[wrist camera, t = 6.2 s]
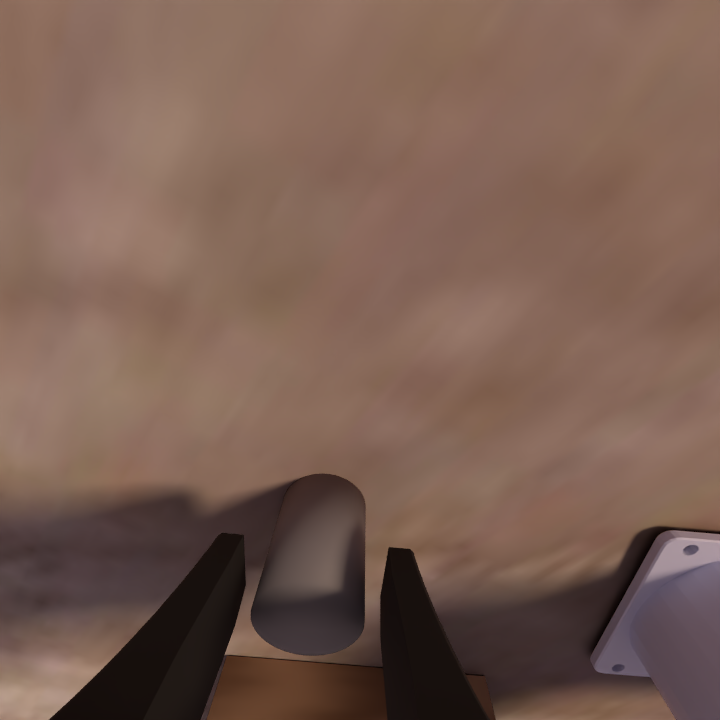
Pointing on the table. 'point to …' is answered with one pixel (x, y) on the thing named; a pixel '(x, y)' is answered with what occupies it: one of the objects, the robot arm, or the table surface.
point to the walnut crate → (307, 691)
